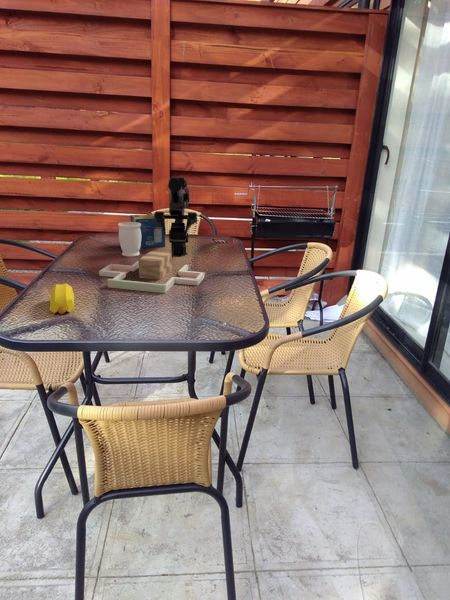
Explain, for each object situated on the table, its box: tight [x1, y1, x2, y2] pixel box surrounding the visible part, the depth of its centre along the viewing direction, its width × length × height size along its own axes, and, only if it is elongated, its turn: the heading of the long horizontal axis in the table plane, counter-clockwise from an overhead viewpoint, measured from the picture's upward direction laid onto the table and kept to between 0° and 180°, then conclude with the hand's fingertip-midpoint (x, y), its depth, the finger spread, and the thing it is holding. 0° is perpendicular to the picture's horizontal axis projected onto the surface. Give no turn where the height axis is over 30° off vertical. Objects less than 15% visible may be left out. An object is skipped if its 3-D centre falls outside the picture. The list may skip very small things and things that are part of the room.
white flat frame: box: [98, 260, 206, 294], centre depth 184 cm, size 32×42×3 cm
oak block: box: [137, 249, 173, 281], centre depth 189 cm, size 15×9×8 cm, turn 168°
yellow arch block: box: [49, 283, 75, 315], centre depth 152 cm, size 18×7×8 cm
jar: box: [117, 221, 141, 258], centre depth 213 cm, size 11×10×15 cm
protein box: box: [130, 213, 166, 250], centre depth 229 cm, size 10×15×16 cm
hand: (175, 234), depth 198 cm, fingers open, 9 cm apart
